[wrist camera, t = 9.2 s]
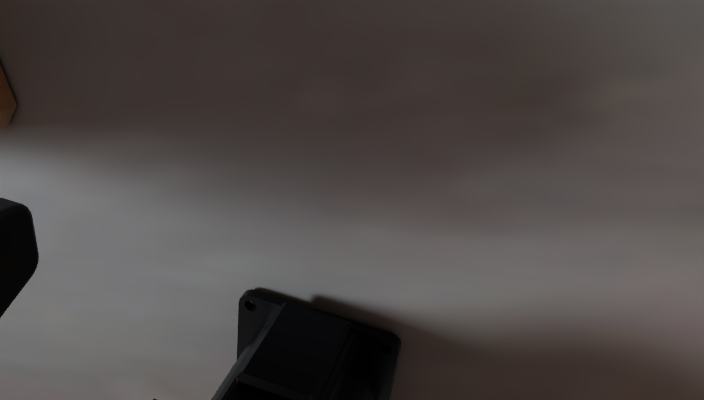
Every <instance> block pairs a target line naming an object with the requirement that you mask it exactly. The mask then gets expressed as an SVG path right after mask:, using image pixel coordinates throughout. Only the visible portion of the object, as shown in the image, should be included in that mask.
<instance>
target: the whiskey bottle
mask: <svg viewBox="0 0 704 400" xmlns="http://www.w3.org/2000/svg"><path fill="white" fill-rule="evenodd" d="M16 106H17V104H16V102H15V99H14V97H13V95H12V92H11V90H10V87H9V85H8V82H7V80H6V78H5V75H4V73H3V70H2V68H1V65H0V130H2V129H5V128H7V127H8V125H9V123H10V120H11V118H12V116H13V113H14V111H15V109H16Z"/></svg>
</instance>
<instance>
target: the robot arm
mask: <svg viewBox="0 0 704 400" xmlns="http://www.w3.org/2000/svg"><path fill="white" fill-rule="evenodd" d="M38 259H39V254H38V248H37V242H36V236H35V230H34V224H33V218H32V214H31V212H30V210H29V209H28V207H26V206H25V205H23V204H20V203H17V202H14V201H11V200H7V199H4V198H0V317H1V316H2V315H3V314H4V312H5V311H6V310H7V308H8V307H9V306H10V304H11V303H12V302H13V300H14V299H15V298H16V296H17V295H18V294H19V292H20V291H21V290H22V288H23V287H24V286H25V285H26V283H27V282H28V281H29V279H30V278H31V277H32V275H33V274H34V272H35V270H36V268H37V264H38ZM250 301H252V302H254V303H255V305H254V304H252V303H251V302H250ZM384 344H388V345H389V346H390V347H387V346H385V345H384ZM400 348H401V341H400V340H399V338H398V337H397V336H396V335H395V334H393V333H391V332H388V331H385V330H381V329H378V328H375V327H372V326H369V325H365V324H362V323H359V322H356V321H353V320H349V319H346V318H343V317H340V316H337V315H333V314H330V313H327V312H324V311H321V310H317V309H314V308H311V307H308V306H305V305H301V304H298V303H295V302H292V301H289V300H285V299H282V298H279V297H276V296H273V295H269V294H266V293H263V292H260V291H257V290H247V291H246V292H245V293H244V294H243V295H242V297H241V298H240V300H239V314H238V345H237V361H236V363H235V364H234V366H233V367H232V369H231V370H230V372H229V373H228V375H227V376H226V378H225V379H224V381H223V382H222V384H221V385H220V387H219V388H218V390H217V391H216V393H215V395H214V396H213V398H212V399H211V400H389V399H390V394H391V390H392V385H393V380H394V376H395V371H396V367H397V362H398V357H399V353H400ZM153 400H157V399H155V398H154V399H153Z"/></svg>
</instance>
